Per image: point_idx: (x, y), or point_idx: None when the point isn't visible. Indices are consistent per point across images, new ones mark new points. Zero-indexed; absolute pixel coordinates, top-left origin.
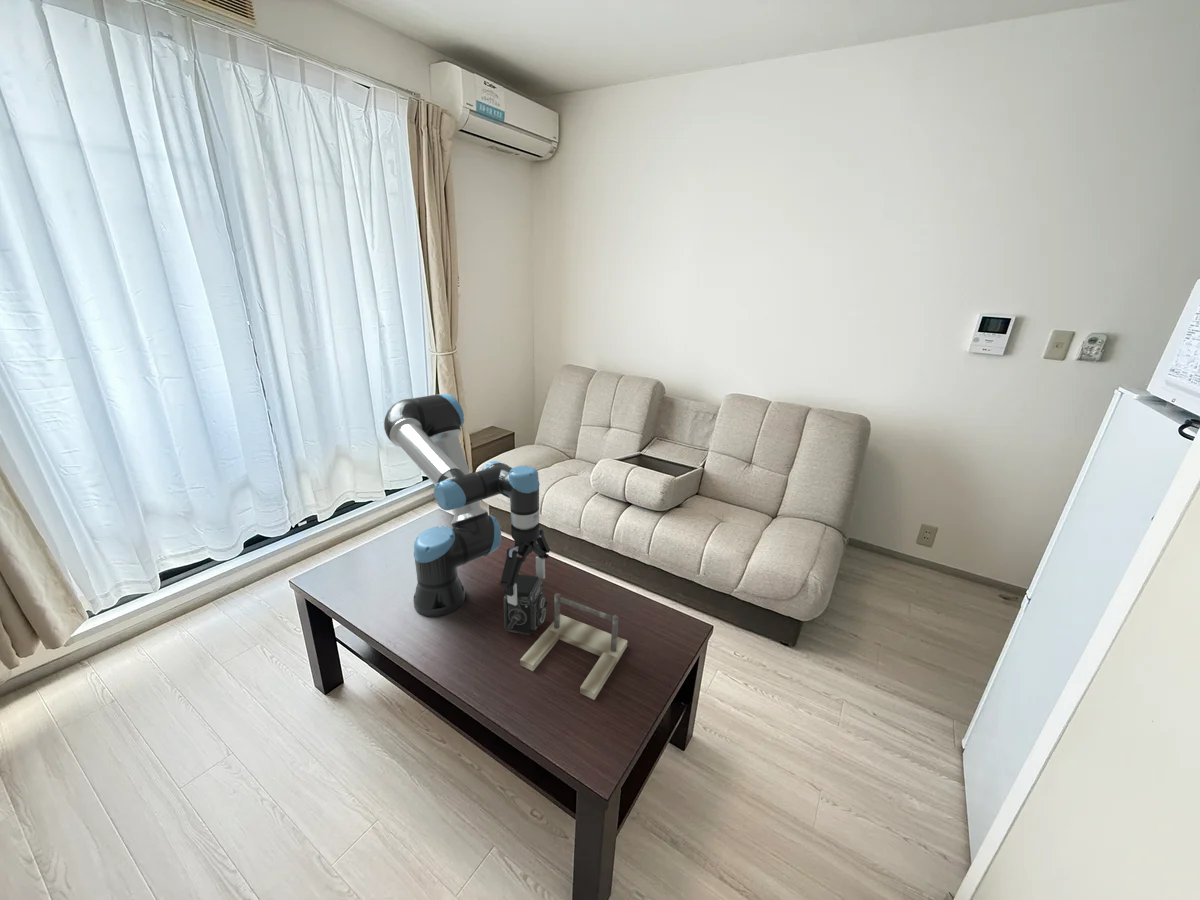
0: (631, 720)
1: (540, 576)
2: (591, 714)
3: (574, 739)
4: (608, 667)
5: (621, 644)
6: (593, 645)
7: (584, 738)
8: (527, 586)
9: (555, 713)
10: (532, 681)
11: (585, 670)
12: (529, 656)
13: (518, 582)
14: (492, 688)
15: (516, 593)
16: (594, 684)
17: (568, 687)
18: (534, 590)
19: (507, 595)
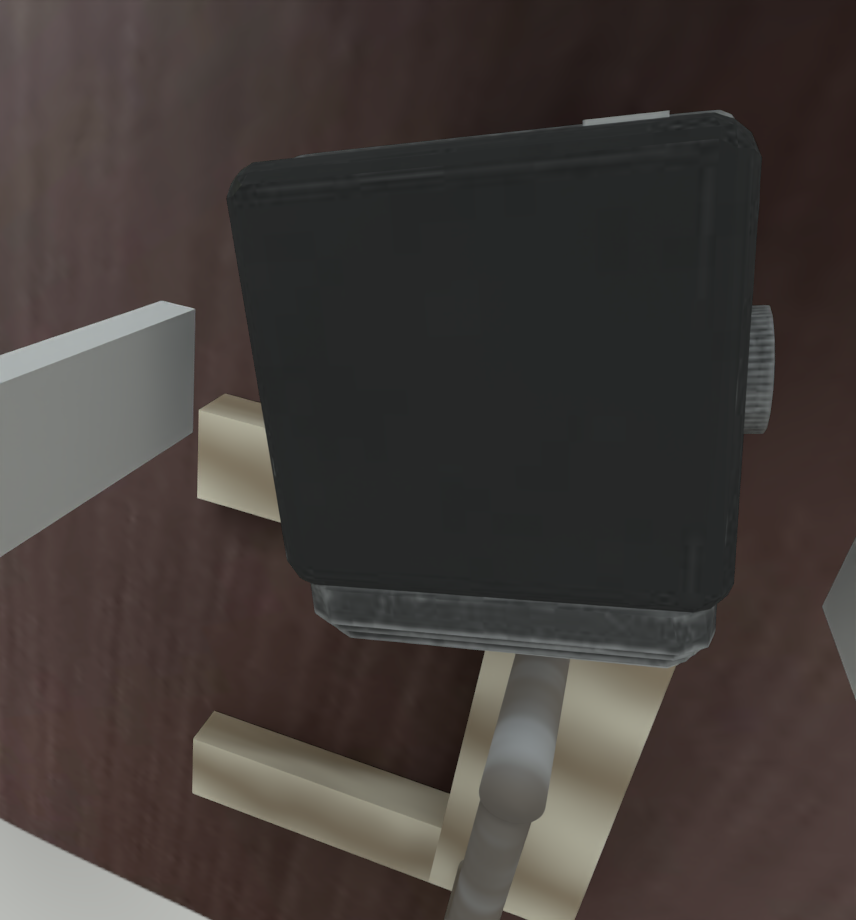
0: (198, 875)
1: (851, 572)
2: (151, 756)
3: (39, 709)
4: (351, 845)
5: (528, 907)
6: (469, 783)
7: (60, 739)
8: (416, 522)
9: (85, 631)
10: (169, 494)
11: (341, 722)
12: (243, 458)
13: (472, 344)
14: (33, 303)
15: (68, 502)
16: (235, 791)
17: (219, 661)
18: (386, 625)
19: (81, 332)
